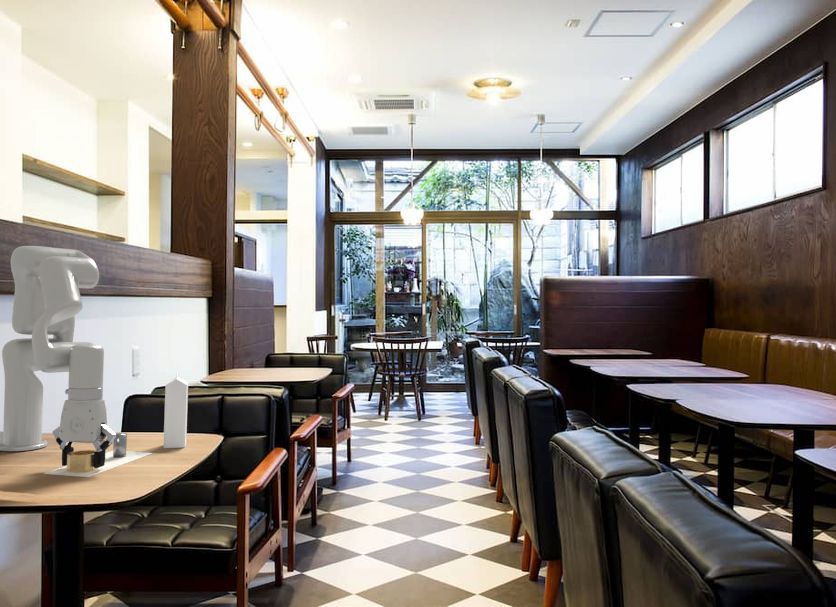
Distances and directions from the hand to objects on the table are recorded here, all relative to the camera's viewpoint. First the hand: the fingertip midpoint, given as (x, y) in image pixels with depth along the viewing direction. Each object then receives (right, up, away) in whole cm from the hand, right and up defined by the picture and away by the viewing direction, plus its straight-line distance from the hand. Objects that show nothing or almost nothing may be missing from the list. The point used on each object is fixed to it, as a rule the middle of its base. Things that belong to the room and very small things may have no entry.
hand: (83, 465), depth 153 cm
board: (+1, -2, +7) cm, 7 cm away
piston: (+2, -1, +14) cm, 14 cm away
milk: (+9, -3, +35) cm, 36 cm away
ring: (0, -1, 0) cm, 1 cm away
